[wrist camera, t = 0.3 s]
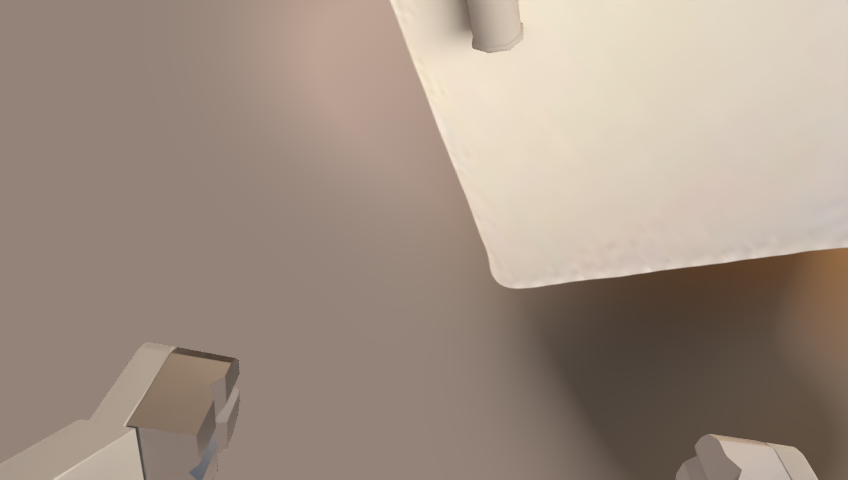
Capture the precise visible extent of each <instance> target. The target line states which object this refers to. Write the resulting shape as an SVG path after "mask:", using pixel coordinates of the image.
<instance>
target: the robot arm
mask: <svg viewBox="0 0 848 480" xmlns="http://www.w3.org/2000/svg"><path fill="white" fill-rule="evenodd" d="M238 376H239V360H238V359H236V358H232V357H227V356H221V355H216V354H211V353H206V352H200V351H195V350H190V349H184V348H179V347H171V346H166V345H160V344H155V343H149V342H147V343H145V344H144V345H143V346H141V347H140V348H139V349H138V350H137V351H136V353H135V354H134V356H133V357H132V358H131V360H130V361H129V363H128V364H127V366H126V367H125V369H124V370H123V372H122V373H121V374H120V376H119V377H118V379H117V380H116V382H115V383H114V385H113V386H112V387H111V389H110V390H109V392H108V393H107V395H106V396H105V398H104V399H103V401H102V402H101V404H100V405H99V406H98V408H97V409H96V411H95V412H94V414H93V415H92V417H91V418H90V419H89V421H87V420H77V421H75V422H74V423H72V424H70V425H68V426H66V427H65V428H63V429H61V430H59V431H58V432H56V433H54V434H53V435H51V436H49V437H47V438H45V439H44V440H42V441H40V442H38V443H36V444H35V445H33V446H31V447H29V448H28V449H26V450H24V451H22V452H21V453H19V454H17V455H15V456H14V457H12V458H10V459H8V460H7V461H5V462H3V463H1V464H0V480H214V478H215V476H216V474H217V471H218V463H217V454H218V453H220V452H221V451H222V450H224V449H225V448H226V447H228V444H229V442H230V439H231V437H232V434H233V431H234V428H235V424H236V420H237V416H238V410H239V402H240V392H239V391H238V389H237V388H236V387H235V386H234V385H235V383H236V381H237V378H238ZM695 449H696V452H697V456H696V457H694V458H692V459H690V460H688V461H685V462H684V463H683V464H682V466H681V468H680V469H679V471H678V472H677V474H676V480H818V479H817V477H816V475H815V474H814V472H813V470H812V469H811V467H810V465H809V464H808V462H807V460H806V459H805V457H804V455H803V454H802V453H800V452H799V451H798V450H797V449H796V448H795V447H790V446H783V445H777V444H770V443H762V442H760V441H753V440H746V439H739V438H732V437H727V436H719V435H713V434H708V435H705V436H703V437H701V438H700V440H699V441H698V443H697V444H696V445H695Z"/></svg>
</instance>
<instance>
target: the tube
mask: <svg viewBox="0 0 848 480" xmlns="http://www.w3.org/2000/svg"><path fill="white" fill-rule="evenodd" d="M466 1H467V7H468V12H469V18H470V23H471V28H472V34H473V40H472V47H473V49H477V50H480V51H484V52H487V53H492V52H499V51H506V50H510V49H511V48H513V47H514V46H515V45H516V44H517V43H519V42H520V41H521V40H522V39H523V23H521V22H520V15H519V6H518V0H466Z"/></svg>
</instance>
